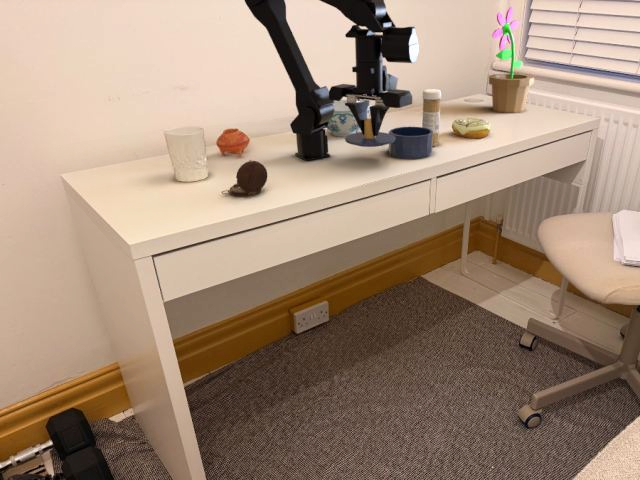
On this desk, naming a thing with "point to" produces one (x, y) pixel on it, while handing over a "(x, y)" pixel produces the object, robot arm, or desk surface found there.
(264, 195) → the desk surface
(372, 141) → the tin lid
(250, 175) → the compass
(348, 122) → the chinaware
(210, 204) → the desk surface
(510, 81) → the flowerpot
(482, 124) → the decorated donut
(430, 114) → the sprinkles bottle
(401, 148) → the tin
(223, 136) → the pot
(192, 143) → the white cup
